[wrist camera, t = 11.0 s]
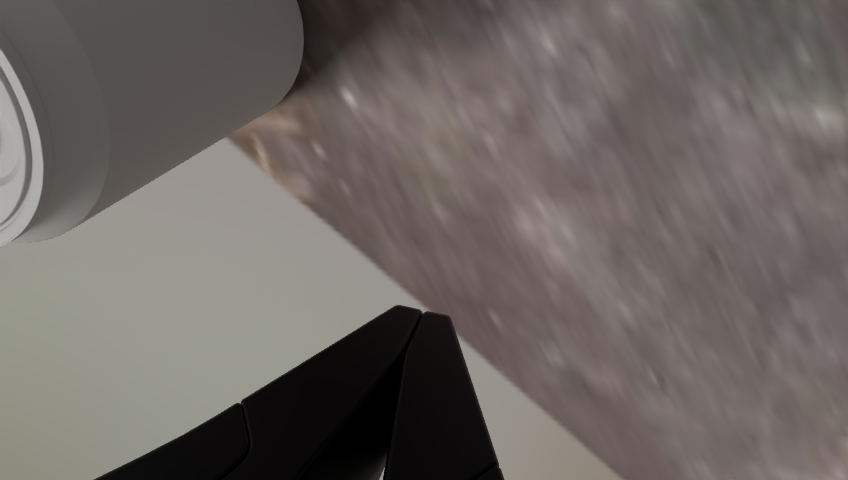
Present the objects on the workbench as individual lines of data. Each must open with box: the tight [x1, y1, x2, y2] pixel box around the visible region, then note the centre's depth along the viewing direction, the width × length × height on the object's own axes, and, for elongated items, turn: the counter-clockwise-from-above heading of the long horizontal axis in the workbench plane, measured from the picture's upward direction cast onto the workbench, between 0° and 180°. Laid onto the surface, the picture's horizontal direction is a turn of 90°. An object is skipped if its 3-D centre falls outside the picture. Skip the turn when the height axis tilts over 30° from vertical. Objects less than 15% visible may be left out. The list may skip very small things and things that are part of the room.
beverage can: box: [0, 0, 304, 247], centre depth 16 cm, size 6×6×12 cm
